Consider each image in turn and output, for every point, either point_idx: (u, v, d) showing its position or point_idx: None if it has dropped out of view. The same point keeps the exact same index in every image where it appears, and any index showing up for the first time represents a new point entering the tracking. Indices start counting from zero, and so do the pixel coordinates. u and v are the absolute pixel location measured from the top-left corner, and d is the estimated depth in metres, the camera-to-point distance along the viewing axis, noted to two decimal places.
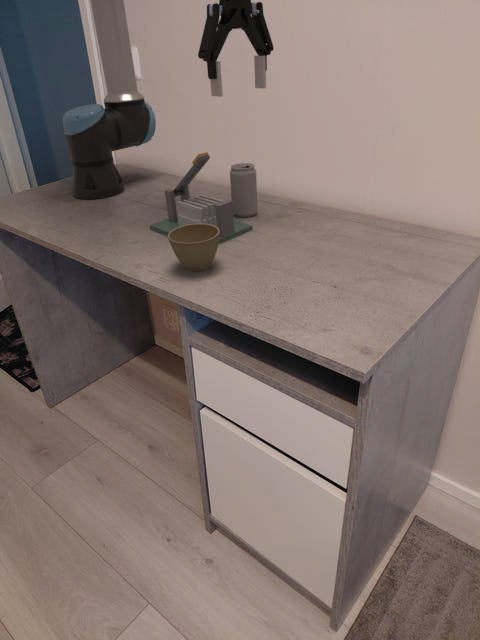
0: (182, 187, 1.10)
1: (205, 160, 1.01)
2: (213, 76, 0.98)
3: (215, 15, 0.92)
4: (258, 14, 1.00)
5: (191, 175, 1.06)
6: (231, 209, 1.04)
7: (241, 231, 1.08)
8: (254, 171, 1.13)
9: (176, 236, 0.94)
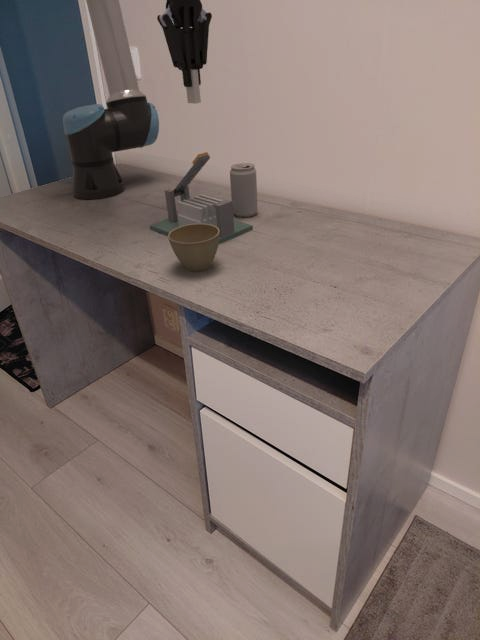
0: (182, 187, 1.10)
1: (205, 160, 1.01)
2: (188, 84, 1.02)
3: (170, 26, 0.94)
4: (204, 21, 0.99)
5: (191, 175, 1.06)
6: (231, 209, 1.04)
7: (241, 231, 1.08)
8: (254, 171, 1.13)
9: (176, 236, 0.94)
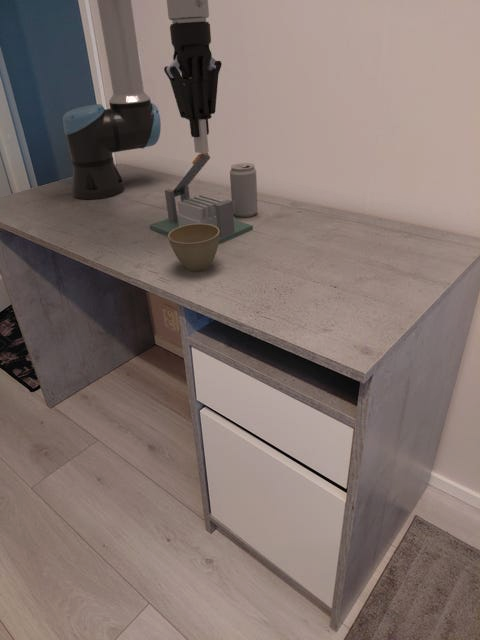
0: (182, 187, 1.10)
1: (205, 160, 1.01)
2: (196, 134, 0.97)
3: (177, 78, 0.89)
4: (213, 70, 0.95)
5: (191, 175, 1.06)
6: (231, 209, 1.04)
7: (241, 231, 1.08)
8: (254, 171, 1.13)
9: (176, 236, 0.94)
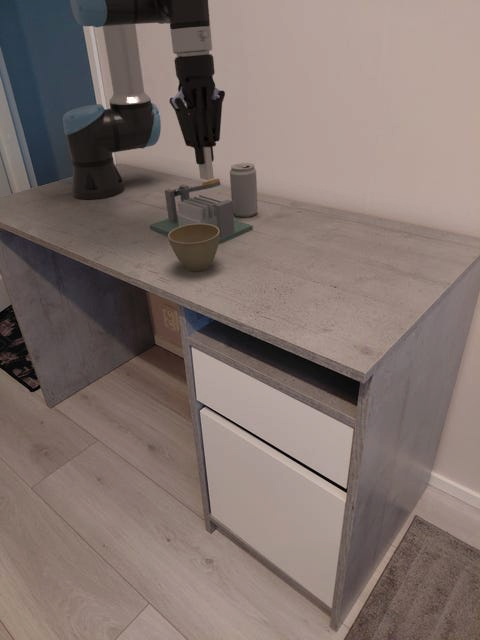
0: None
1: (215, 186, 1.02)
2: (201, 162, 0.99)
3: (182, 109, 0.91)
4: (217, 99, 0.97)
5: None
6: (231, 209, 1.04)
7: (241, 231, 1.08)
8: (254, 171, 1.13)
9: (176, 236, 0.94)
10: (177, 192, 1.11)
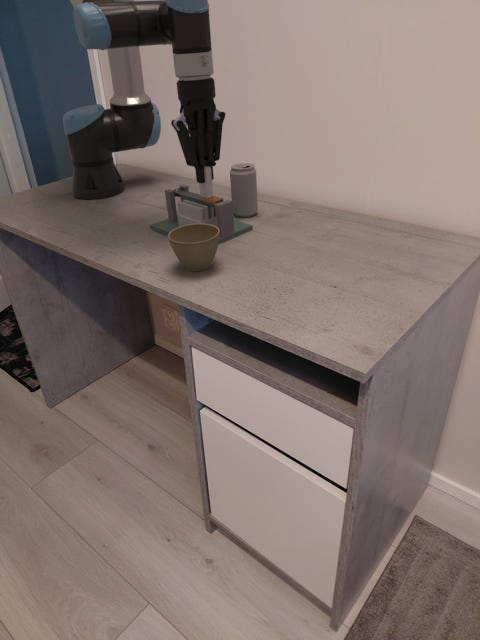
0: None
1: None
2: (201, 181, 1.02)
3: (183, 131, 0.94)
4: (218, 120, 0.99)
5: None
6: (231, 209, 1.04)
7: (241, 231, 1.08)
8: (254, 171, 1.13)
9: (176, 236, 0.94)
10: (178, 194, 1.11)
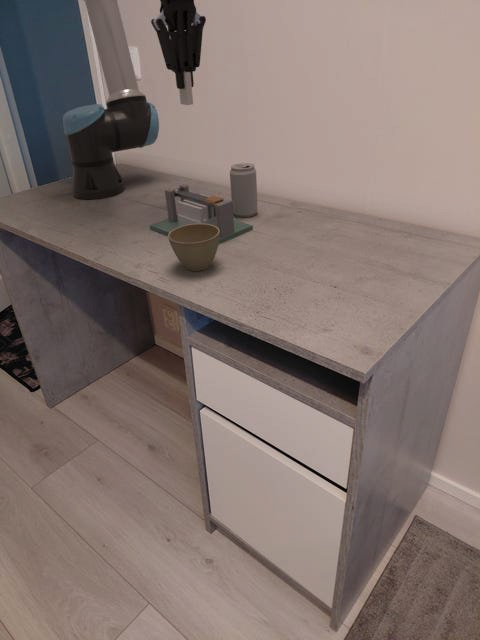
0: None
1: None
2: (181, 86, 1.04)
3: (163, 30, 0.96)
4: (198, 25, 1.01)
5: None
6: (231, 209, 1.04)
7: (241, 231, 1.08)
8: (254, 171, 1.13)
9: (176, 236, 0.94)
10: (178, 194, 1.11)
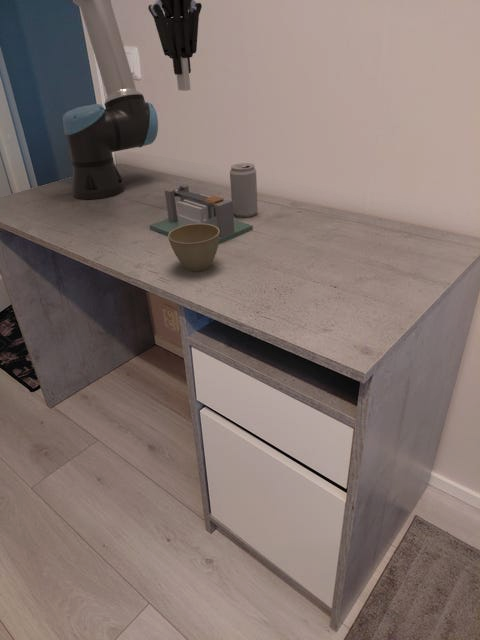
0: None
1: None
2: (178, 72, 1.06)
3: (160, 15, 0.98)
4: (194, 11, 1.04)
5: None
6: (231, 209, 1.04)
7: (241, 231, 1.08)
8: (254, 171, 1.13)
9: (176, 236, 0.94)
10: (178, 194, 1.11)
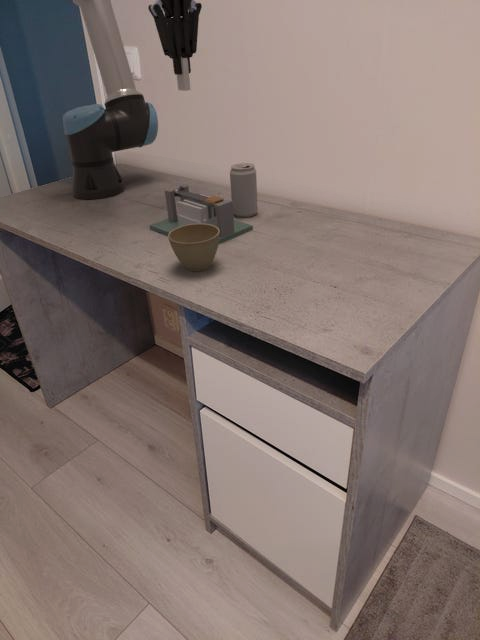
0: None
1: None
2: (178, 72, 1.06)
3: (160, 15, 0.98)
4: (194, 11, 1.04)
5: None
6: (231, 209, 1.04)
7: (241, 231, 1.08)
8: (254, 171, 1.13)
9: (176, 236, 0.94)
10: (178, 194, 1.11)
